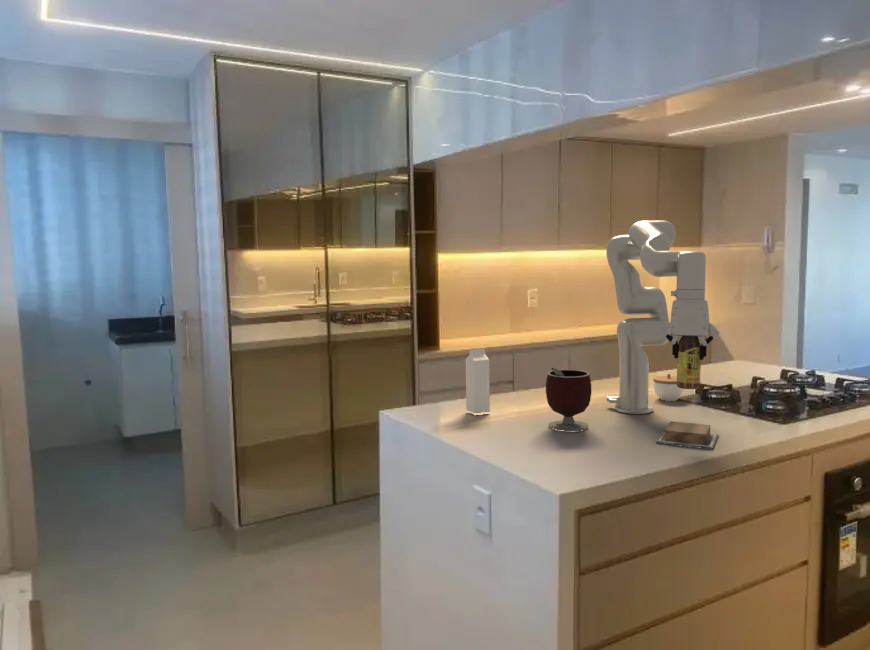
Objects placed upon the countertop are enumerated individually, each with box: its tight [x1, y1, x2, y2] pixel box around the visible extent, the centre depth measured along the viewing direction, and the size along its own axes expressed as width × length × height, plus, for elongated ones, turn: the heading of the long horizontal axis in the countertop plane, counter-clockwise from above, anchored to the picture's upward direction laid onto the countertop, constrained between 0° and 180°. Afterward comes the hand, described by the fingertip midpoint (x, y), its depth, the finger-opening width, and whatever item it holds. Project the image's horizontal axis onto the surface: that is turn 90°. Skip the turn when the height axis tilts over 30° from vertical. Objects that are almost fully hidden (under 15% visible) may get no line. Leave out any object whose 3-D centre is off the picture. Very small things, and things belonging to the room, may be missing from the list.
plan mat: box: [655, 420, 719, 450], centre depth 195 cm, size 15×15×4 cm
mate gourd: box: [545, 367, 592, 432], centre depth 211 cm, size 16×14×20 cm
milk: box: [465, 348, 491, 413], centre depth 231 cm, size 6×6×22 cm
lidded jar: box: [653, 373, 685, 402], centre depth 248 cm, size 11×11×9 cm
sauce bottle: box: [676, 336, 702, 390], centre depth 193 cm, size 7×6×20 cm
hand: (689, 357), depth 193 cm, fingers closed on sauce bottle, 6 cm apart
